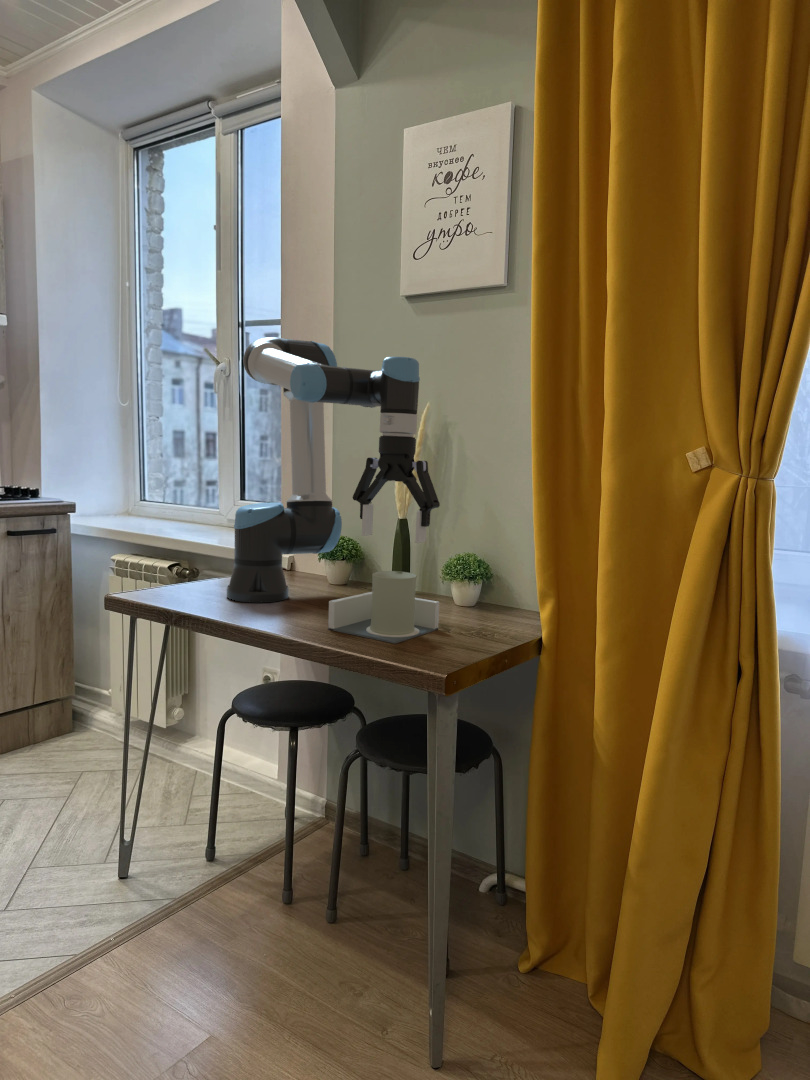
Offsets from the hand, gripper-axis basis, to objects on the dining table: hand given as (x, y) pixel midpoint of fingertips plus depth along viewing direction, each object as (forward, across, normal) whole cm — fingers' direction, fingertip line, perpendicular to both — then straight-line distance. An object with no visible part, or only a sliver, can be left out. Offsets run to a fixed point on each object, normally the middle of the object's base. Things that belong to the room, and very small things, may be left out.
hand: (393, 539), depth 153 cm
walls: (+19, -1, -1) cm, 19 cm away
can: (+19, +2, -2) cm, 19 cm away
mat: (+19, -1, -1) cm, 19 cm away
